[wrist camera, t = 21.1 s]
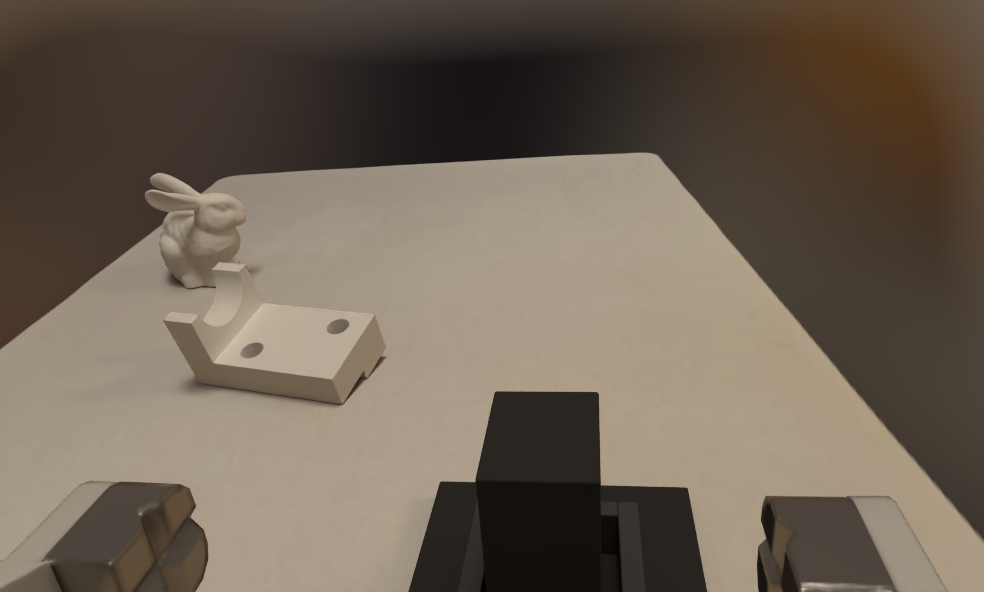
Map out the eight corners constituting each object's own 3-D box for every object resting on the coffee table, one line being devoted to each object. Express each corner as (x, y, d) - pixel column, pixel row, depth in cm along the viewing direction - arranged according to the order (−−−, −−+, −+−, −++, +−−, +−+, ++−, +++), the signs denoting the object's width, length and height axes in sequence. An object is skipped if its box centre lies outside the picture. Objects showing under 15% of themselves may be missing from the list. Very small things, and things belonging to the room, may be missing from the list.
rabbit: (268, 275, 77) (245, 165, 72) (186, 307, 70) (154, 189, 65) (210, 254, 84) (185, 153, 79) (131, 281, 78) (99, 173, 73)
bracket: (204, 391, 57) (162, 320, 52) (253, 332, 62) (219, 262, 57) (346, 413, 53) (314, 337, 48) (385, 347, 58) (360, 273, 53)
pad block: (600, 566, 35) (598, 391, 31) (602, 677, 29) (600, 482, 25) (508, 562, 35) (494, 390, 31) (493, 671, 30) (474, 479, 26)
